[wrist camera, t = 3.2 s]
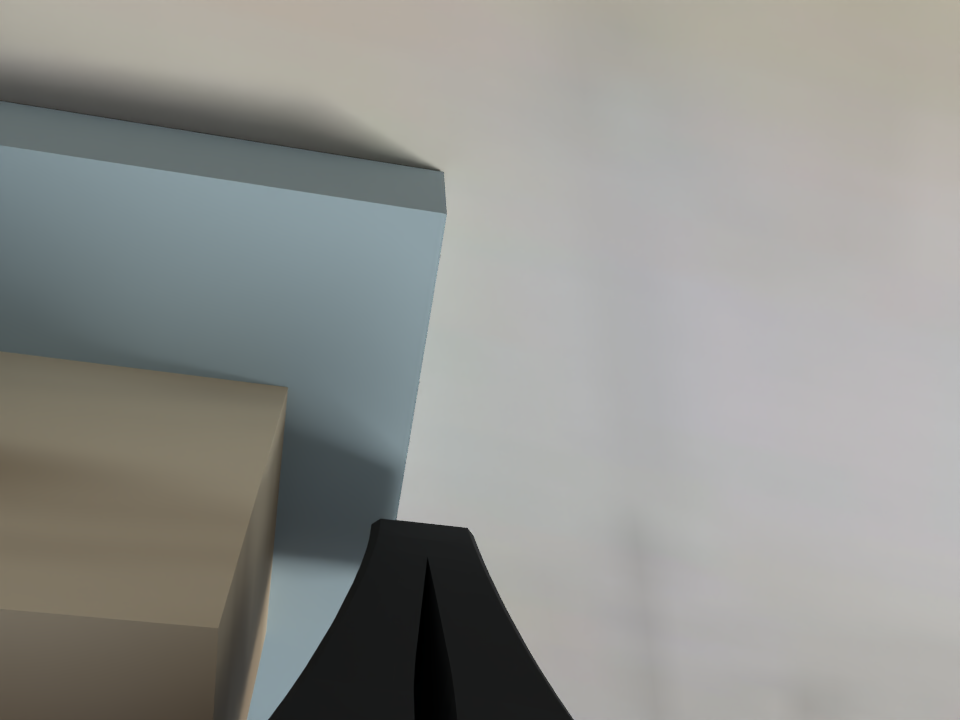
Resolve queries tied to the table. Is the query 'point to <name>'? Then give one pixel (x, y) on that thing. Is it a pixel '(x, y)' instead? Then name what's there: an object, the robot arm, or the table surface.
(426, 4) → the table surface
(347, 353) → the deck
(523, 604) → the table surface
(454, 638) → the robot arm
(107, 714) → the block
